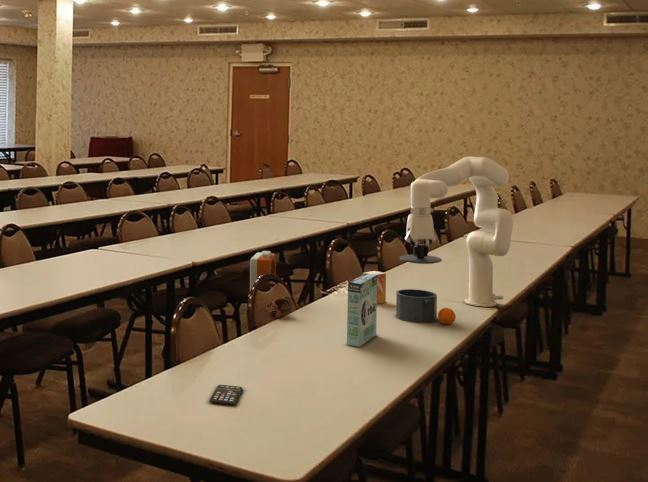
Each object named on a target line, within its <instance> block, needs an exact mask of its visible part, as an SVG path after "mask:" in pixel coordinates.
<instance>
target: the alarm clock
mask: <svg viewBox="0 0 648 482" xmlns="http://www.w3.org/2000/svg"><path fill="white" fill-rule="evenodd" d="M267 273H268V274H274V275H275V276H276V277H277V256H276V253H274V252H272V251H270V250H262V251H261V252H259V251H258V252H256V253H255V254H253V256H252V257H251V258H250V260H249V292H250V291H251V289H252V287H253V285H254V283H255V281H256V280H257V279H258V277H259V276H260V275H262V274H267Z"/></svg>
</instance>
